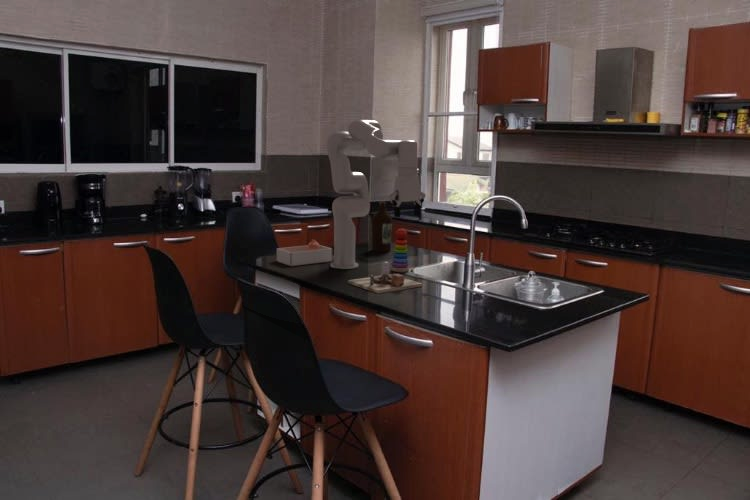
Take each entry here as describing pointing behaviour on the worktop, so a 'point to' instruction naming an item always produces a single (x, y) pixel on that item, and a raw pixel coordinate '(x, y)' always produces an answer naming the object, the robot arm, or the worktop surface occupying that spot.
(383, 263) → the grey cylinder
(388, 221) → the olive oil
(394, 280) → the ring with handle
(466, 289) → the worktop surface
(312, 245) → the pottery
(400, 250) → the stacking toy
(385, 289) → the board
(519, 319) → the worktop surface
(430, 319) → the worktop surface
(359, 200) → the robot arm
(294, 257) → the dish tray
